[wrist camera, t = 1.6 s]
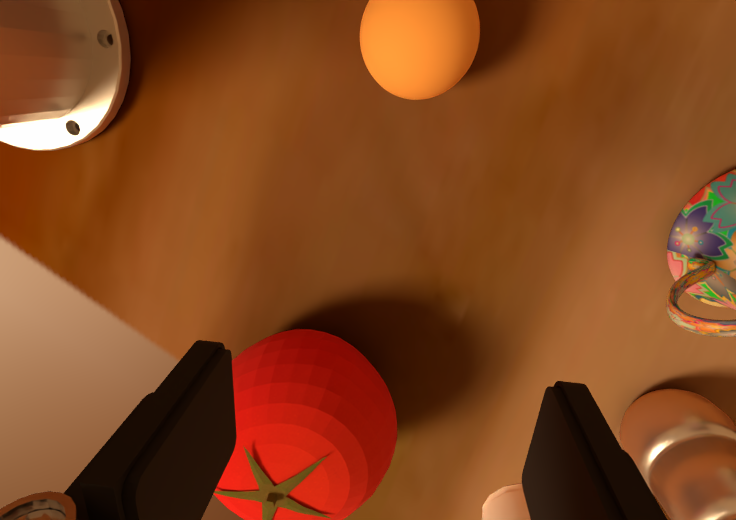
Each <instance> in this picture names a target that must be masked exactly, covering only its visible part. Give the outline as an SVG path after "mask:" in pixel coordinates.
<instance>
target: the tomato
mask: <svg viewBox="0 0 736 520" xmlns="http://www.w3.org/2000/svg"><path fill="white" fill-rule="evenodd" d="M232 371H233V387H234V403H235V418H236V434H237V438H236V445H235V448H234V451H233V454H232V456H231V458H230V460H229V462H228V464H227V466H226V468H225V470H224V472H223V474H222V477H221V479H220V481H219V483H218V485H217V487H216V489H215V491H214V493H213V494H214V495H215V496H216V497H217V498H218V499H219V500H220V501H221V502H222V503H223V504H224V505H225V506H226V507H227V508H228V509H230V510H231V511H232V512H234V513H235V514H237V515H238V516H239V517H241V518H243V519H244V520H343V519H344V518H346V517H347V516H349V515H350V514H351V513H353V512H354V511H355V510H356V509H358V508H359V507H360V506H361V505H362V504H363V503H364V502H366V501H367V500H368V499H369V498H370V497H371V496H372V495H373V493H374V492H375V490H376V488H377V487H378V485H379V484H380V482H381V481H382V479H383V477H384V475H385V473H386V472H387V470H388V468H389V466H390V463H391V460H392V457H393V454H394V450H395V445H396V440H397V419H396V411H395V406H394V403H393V400H392V397H391V395H390V393H389V390H388V388H387V386H386V384H385V382H384V381H383V379H382V378H381V376H380V375H379V373H378V372H377V371H376V369H375V368H374V367H373V365H372V364H371V363H370V362H369V361H368V360H367V359H366V358H365V357H364V355H362V354H361V353H360V352H359V351H358V350H357V349H356V348H355V347H354V346H352V345H351V344H349V343H348V342H346V341H344V340H343V339H341V338H339V337H337V336H334V335H332V334H329V333H326V332H322V331H317V330H312V329H295V330H289V331H283V332H280V333H277V334H274V335H272V336H269V337H267V338H265V339H263V340H261V341H259V342H258V343H256V344H254V345H252V346H251V347H249V348H247V349H246V350H244V351H243V352H242V353H241V354H240V355H238V356H237V357H236V358H235V359H234V360H232Z"/></svg>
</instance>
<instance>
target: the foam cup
mask: <svg viewBox="0 0 736 520" xmlns="http://www.w3.org/2000/svg"><path fill="white" fill-rule="evenodd" d="M482 509H483V514H482V520H531V519H530V515H529V511H528V507H527V504H526V500H525V496H524V492H523V487H522V483H521V484H516V485H510V486H505V487H502V488H501V489H499V490H497V491H496V492H494V493H492V494H491V495H489V497H488V498H487V500H486V502H485V503H484V505H483V507H482Z"/></svg>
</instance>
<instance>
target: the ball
mask: <svg viewBox="0 0 736 520" xmlns="http://www.w3.org/2000/svg"><path fill="white" fill-rule="evenodd" d="M479 37H480V21H479V15H478V11H477V7H476V4H475V2H474V0H369V2H368V4H367V6H366V8H365V11H364V14H363V17H362V21H361V28H360V45H361V51H362V56H363V59H364V62H365V64H366V66H367V68H368V70H369V72H370V74H371V75H372V76H373V78H374V79H375V80H376V81H377V82H378V84H379V85H380V86H382V87H383V88H384V89H385V90H387V91H388V92H390V93H392V94H394V95H396V96H398V97H401V98H405V99H411V100H422V99H429V98H432V97H436V96H438V95H440V94H442V93H444V92H446V91H448V90H449V89H451V88H452V87H453V86H454V85H456V84H457V83H458V82H459V81H460V80H461V79H462V77H463V76H464V75H465V74H466V72H467V71H468V69H469V68H470V66H471V64H472V62H473V60H474V58H475V55H476V52H477V49H478V44H479Z"/></svg>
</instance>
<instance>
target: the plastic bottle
mask: <svg viewBox="0 0 736 520" xmlns="http://www.w3.org/2000/svg"><path fill="white" fill-rule="evenodd" d="M620 440H621V443H622V446H623V449H624V451H626V452H627V453H628V454H629V455H630V456H631V458H632V459H633V461H634V462H635V464H636V466H637V468H638V469H639V471H640V473H641V475H642V476H643V478H644V480H645V482H646V483H647V485H648V487H649V489H650V490H651V492H652V494H653V495H654V496H655V497H656V498H657V500H658V501H659V503H660V504H661V506H662V507H663V509H664V510H665V512H666V513H667V515H668V516H669V518H670V519H671V520H736V426H735V424H734V423H733V422H732V420H731V419H730V417H729V416H728V415H727V414H726V413H724V412H723V411H722V410H721V409H720V408H718V407H717V406H716V405H714V404H713V403H712V402H711V401H709V400H708V399H706V398H705V397H703V396H701V395H699V394H696V393H693V392H690V391H685V390H679V389H661V390H656V391H653V392H650V393H648V394H645V395H643V396H641V397H640V398H639V399H637V400H636V401H634V402H633V403H632V404H631V405H630V406H629V408H628V409H627V411H626V412H625V414H624V417H623V419H622V423H621V427H620Z"/></svg>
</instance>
